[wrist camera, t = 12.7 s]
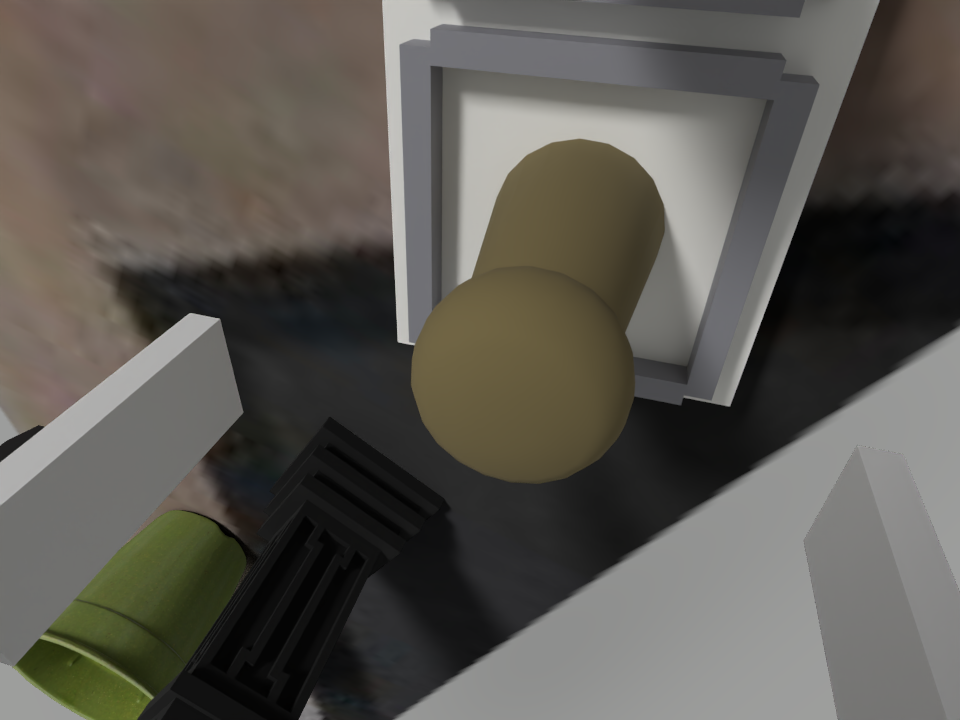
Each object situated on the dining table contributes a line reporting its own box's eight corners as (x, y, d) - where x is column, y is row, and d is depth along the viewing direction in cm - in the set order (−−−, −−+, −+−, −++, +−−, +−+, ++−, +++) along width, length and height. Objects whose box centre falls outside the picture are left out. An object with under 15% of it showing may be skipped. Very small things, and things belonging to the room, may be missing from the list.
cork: (654, 308, 23) (636, 543, 14) (496, 294, 24) (390, 500, 15) (676, 140, 19) (669, 314, 11) (490, 136, 21) (350, 286, 12)
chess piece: (443, 498, 35) (247, 963, 19) (378, 552, 40) (178, 959, 24) (329, 416, 34) (19, 844, 18) (276, 482, 39) (-6, 865, 23)
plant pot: (101, 488, 45) (-43, 627, 36) (220, 479, 40) (88, 636, 31) (190, 592, 50) (85, 734, 41) (304, 594, 46) (213, 756, 37)
